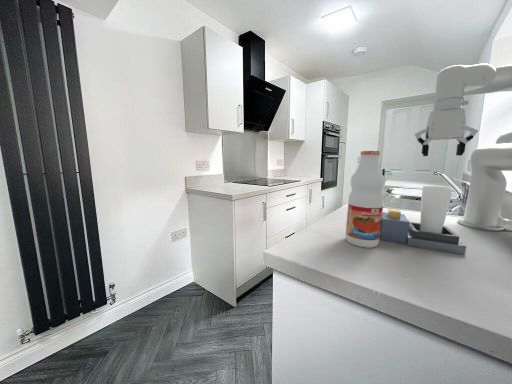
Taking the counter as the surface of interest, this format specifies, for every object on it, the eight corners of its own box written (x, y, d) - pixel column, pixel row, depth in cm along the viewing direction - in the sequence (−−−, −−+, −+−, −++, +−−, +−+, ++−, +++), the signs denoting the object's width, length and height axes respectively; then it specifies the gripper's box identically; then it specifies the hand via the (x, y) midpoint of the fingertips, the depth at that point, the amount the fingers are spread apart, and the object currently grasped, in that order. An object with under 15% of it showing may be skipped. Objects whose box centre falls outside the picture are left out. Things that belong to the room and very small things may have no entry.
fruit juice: (367, 236, 71) (376, 151, 67) (385, 248, 62) (397, 150, 57) (340, 236, 71) (347, 151, 66) (354, 248, 61) (363, 150, 57)
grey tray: (447, 239, 70) (452, 212, 68) (464, 254, 58) (470, 223, 57) (372, 228, 79) (374, 205, 78) (373, 240, 68) (376, 213, 66)
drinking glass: (418, 229, 71) (424, 185, 69) (445, 234, 66) (452, 187, 64) (414, 234, 67) (421, 187, 64) (443, 240, 62) (451, 189, 59)
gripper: (475, 105, 74) (468, 155, 77) (414, 110, 81) (410, 156, 84) (487, 100, 67) (479, 155, 70) (420, 106, 74) (415, 156, 77)
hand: (441, 155), depth 77 cm, fingers open, 9 cm apart
